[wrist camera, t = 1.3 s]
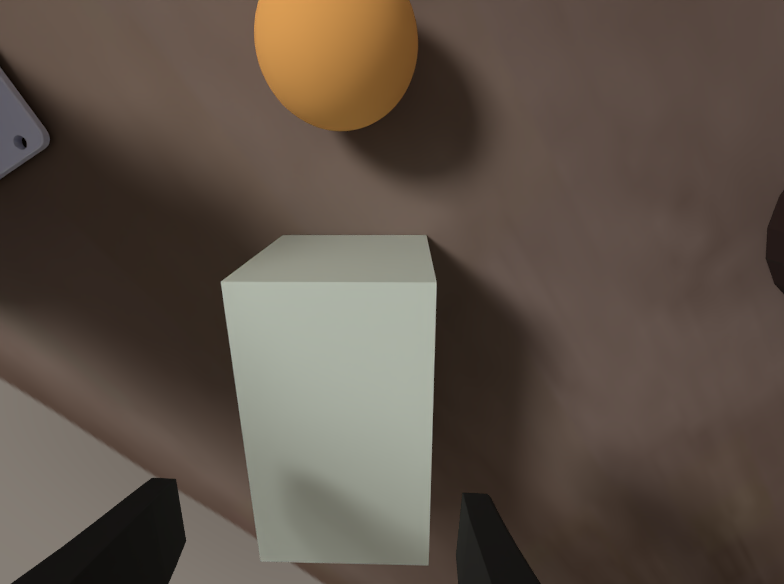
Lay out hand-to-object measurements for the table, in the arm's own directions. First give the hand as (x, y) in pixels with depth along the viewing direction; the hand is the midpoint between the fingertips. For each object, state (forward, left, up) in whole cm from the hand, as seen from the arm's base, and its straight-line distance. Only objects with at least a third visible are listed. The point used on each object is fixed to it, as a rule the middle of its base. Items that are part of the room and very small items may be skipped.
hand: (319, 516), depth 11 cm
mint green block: (0, 0, -9) cm, 9 cm away
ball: (+5, +10, -7) cm, 14 cm away
